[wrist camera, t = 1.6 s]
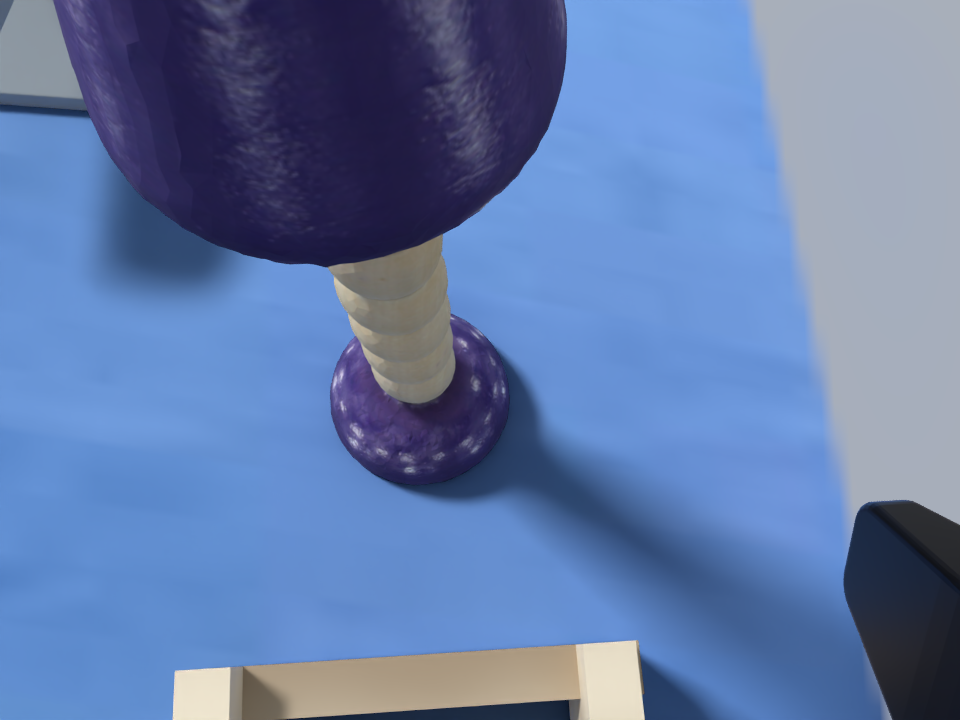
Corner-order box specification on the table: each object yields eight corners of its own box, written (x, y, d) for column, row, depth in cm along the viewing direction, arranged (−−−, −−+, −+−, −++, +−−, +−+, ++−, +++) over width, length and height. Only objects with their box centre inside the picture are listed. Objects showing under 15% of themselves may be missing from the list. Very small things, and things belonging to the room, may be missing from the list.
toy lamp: (415, 542, 20) (257, 95, 4) (264, 417, 21) (-378, -374, 5) (544, 385, 21) (817, -436, 5) (396, 273, 22) (241, -730, 6)
